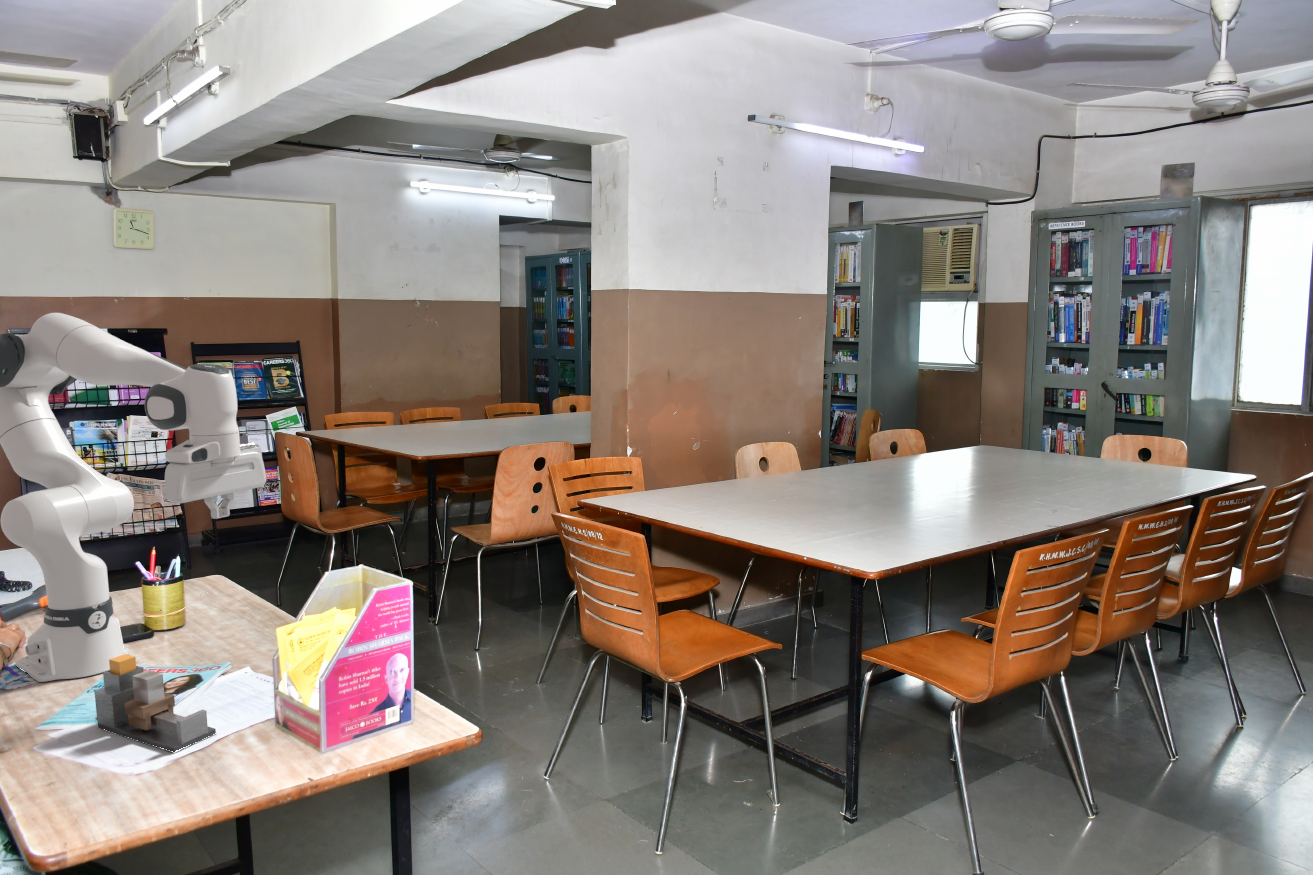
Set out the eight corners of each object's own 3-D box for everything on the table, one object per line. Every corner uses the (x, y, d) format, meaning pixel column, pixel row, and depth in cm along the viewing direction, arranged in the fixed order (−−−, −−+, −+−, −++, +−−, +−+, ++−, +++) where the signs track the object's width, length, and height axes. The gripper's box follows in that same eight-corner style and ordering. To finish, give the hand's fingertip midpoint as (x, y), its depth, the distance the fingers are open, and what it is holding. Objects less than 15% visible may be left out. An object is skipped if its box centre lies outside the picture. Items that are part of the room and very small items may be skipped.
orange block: (111, 685, 168) (108, 659, 168) (127, 679, 171) (125, 653, 170) (121, 688, 167) (119, 662, 166) (137, 682, 170) (135, 656, 169)
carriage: (126, 725, 165) (122, 678, 164) (158, 712, 170) (154, 666, 169) (144, 731, 163) (140, 683, 161) (176, 717, 168) (172, 671, 167)
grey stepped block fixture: (97, 727, 168) (92, 674, 166) (140, 710, 175) (135, 659, 173) (174, 753, 158) (169, 696, 156) (215, 733, 165) (211, 680, 163)
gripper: (249, 440, 192) (254, 505, 193) (156, 453, 174) (162, 526, 176) (270, 441, 189) (275, 508, 191) (178, 456, 171) (184, 529, 173)
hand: (220, 517), depth 183 cm, fingers closed
